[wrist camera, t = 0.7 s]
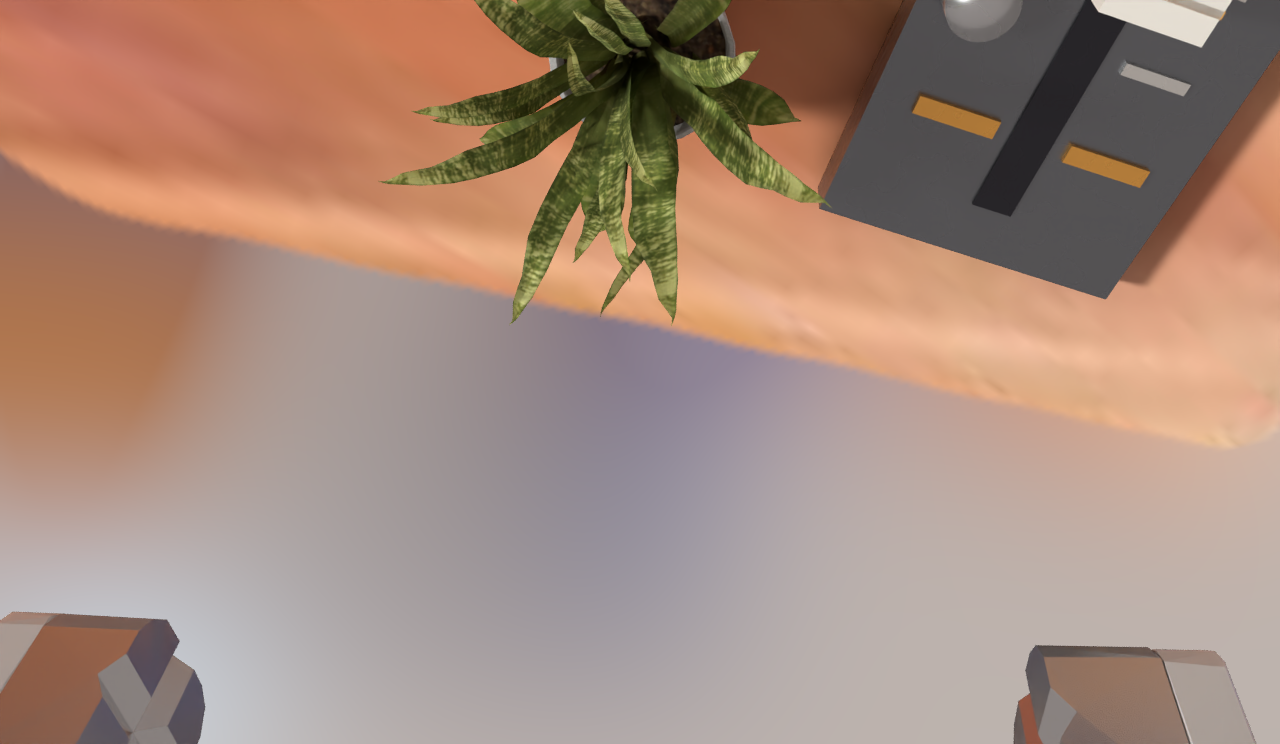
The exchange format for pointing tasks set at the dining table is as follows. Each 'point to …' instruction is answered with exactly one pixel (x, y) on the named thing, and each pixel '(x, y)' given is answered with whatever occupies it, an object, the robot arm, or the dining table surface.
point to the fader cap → (1169, 16)
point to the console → (1039, 130)
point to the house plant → (618, 123)
